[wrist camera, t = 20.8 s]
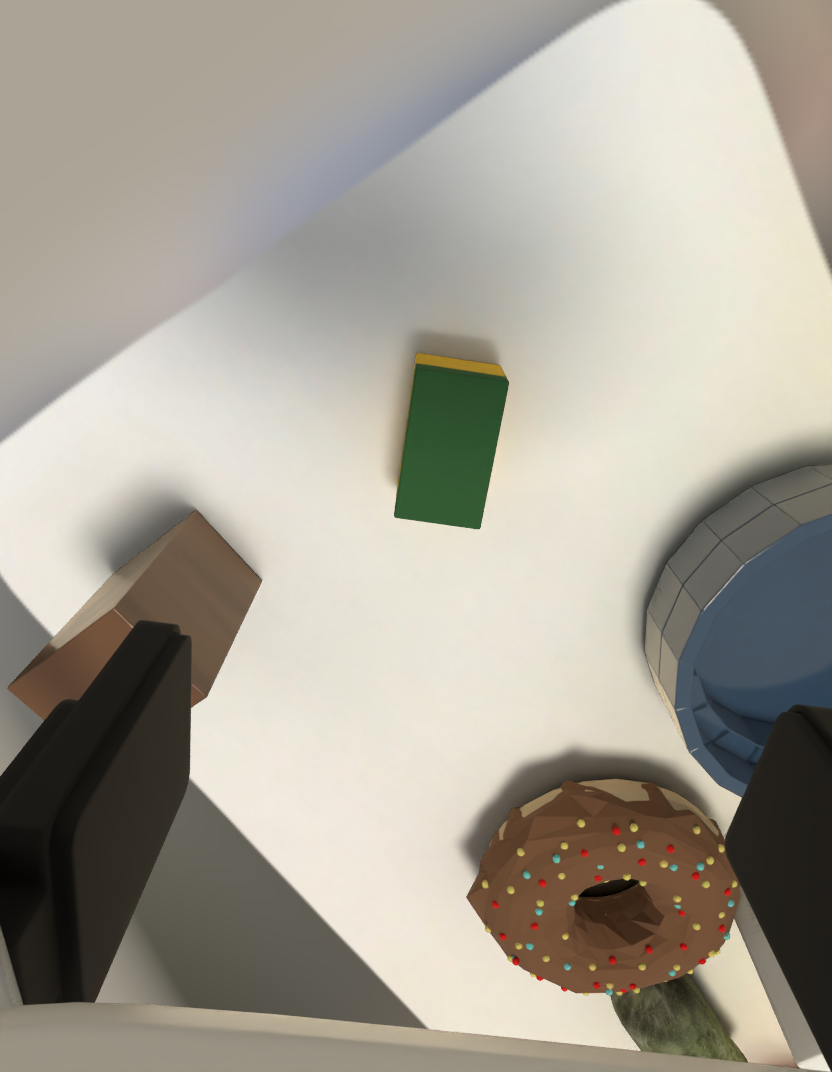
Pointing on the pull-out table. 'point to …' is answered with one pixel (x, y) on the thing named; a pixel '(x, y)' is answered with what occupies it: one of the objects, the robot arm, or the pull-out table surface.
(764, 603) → the bowl
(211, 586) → the wooden block
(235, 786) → the pull-out table surface
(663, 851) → the donut
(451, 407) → the sponge
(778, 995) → the cosmetics box
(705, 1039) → the vegetable
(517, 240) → the pull-out table surface
